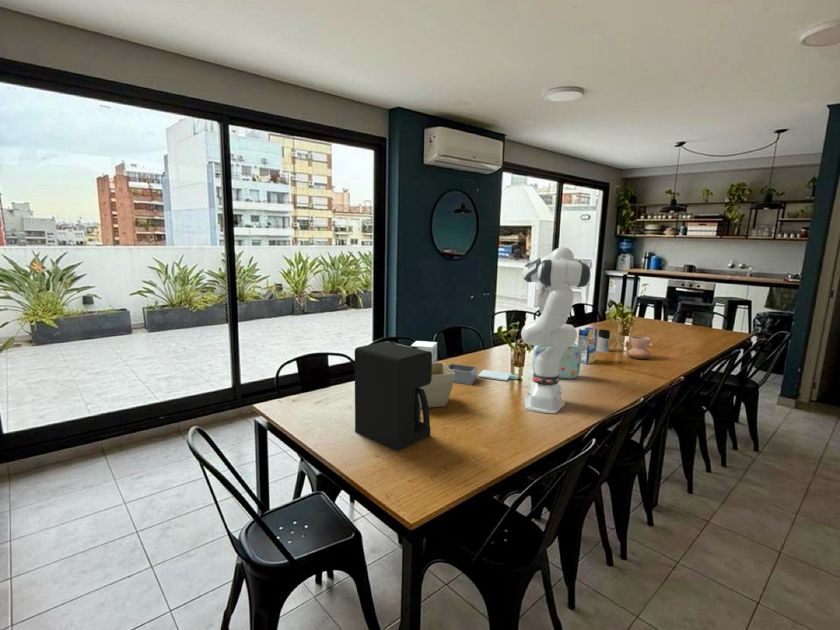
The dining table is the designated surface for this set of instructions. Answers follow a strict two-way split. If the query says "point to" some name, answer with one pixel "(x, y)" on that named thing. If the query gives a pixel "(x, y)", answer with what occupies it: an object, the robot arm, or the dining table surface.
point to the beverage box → (587, 344)
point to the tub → (464, 373)
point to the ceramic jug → (638, 347)
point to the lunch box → (564, 361)
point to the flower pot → (439, 385)
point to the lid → (496, 375)
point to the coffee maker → (392, 393)
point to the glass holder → (604, 341)
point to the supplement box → (427, 348)
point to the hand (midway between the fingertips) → (542, 311)
